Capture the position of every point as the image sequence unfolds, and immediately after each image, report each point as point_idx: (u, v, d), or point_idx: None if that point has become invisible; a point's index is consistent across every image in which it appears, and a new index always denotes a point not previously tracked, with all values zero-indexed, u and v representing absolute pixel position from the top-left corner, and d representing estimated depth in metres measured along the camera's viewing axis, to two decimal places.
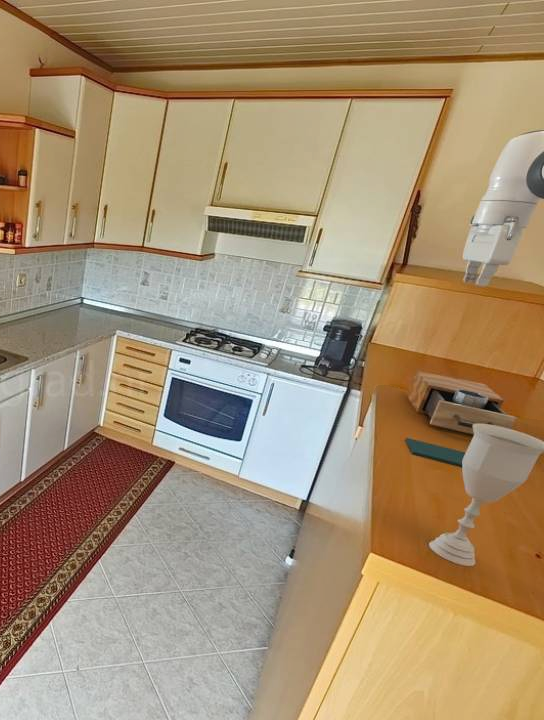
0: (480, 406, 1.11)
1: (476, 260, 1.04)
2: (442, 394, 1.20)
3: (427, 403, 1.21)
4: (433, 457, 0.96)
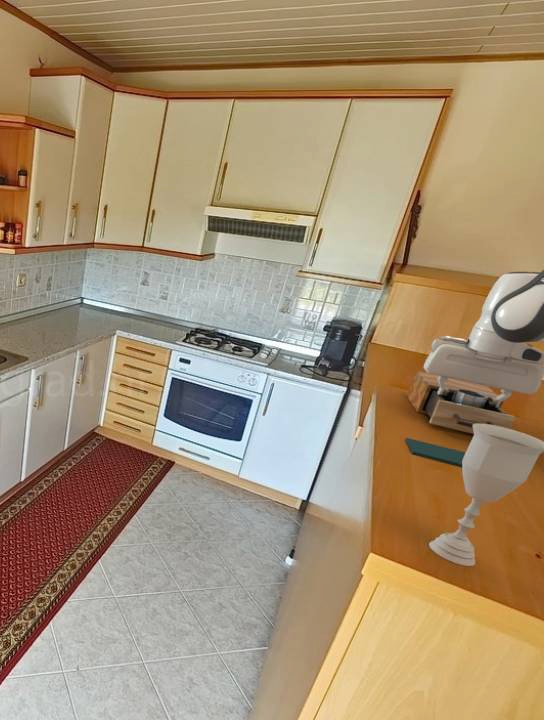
0: (479, 405, 1.11)
1: None
2: None
3: (427, 402, 1.22)
4: (433, 457, 0.96)
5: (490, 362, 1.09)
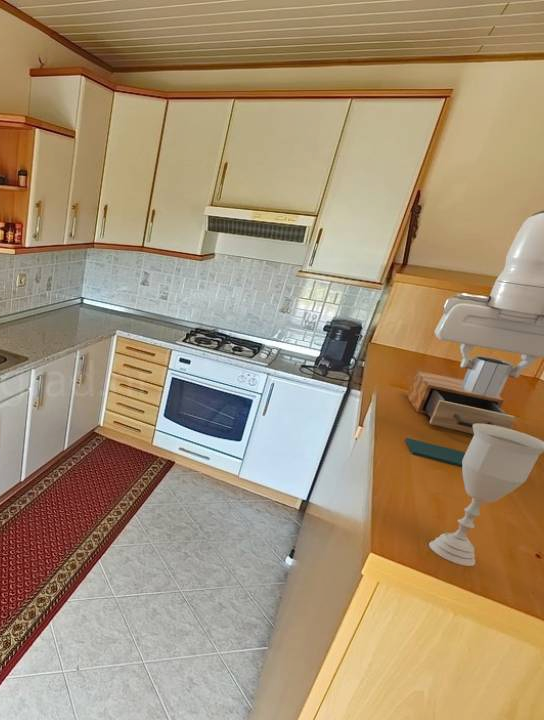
0: (503, 375, 0.91)
1: None
2: (442, 394, 1.21)
3: (427, 403, 1.21)
4: (433, 457, 0.96)
5: (517, 323, 0.89)
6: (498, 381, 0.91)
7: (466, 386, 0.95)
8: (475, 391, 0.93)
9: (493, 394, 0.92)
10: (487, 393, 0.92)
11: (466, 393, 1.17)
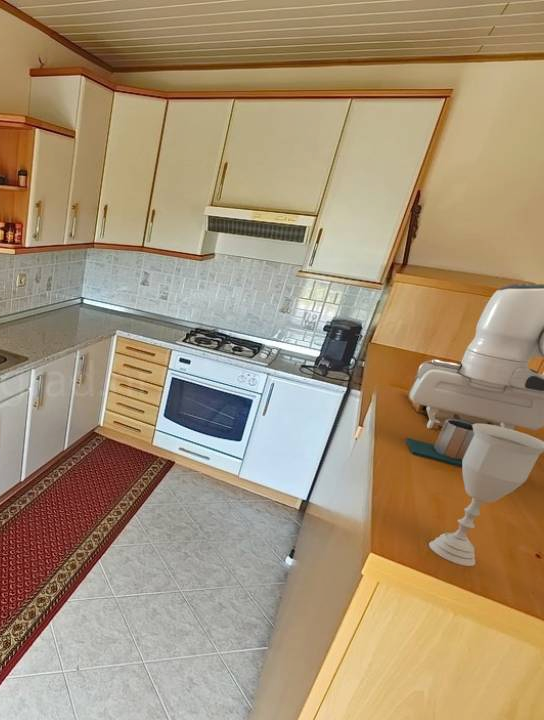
0: None
1: None
2: None
3: None
4: (433, 457, 0.96)
5: (487, 391, 0.91)
6: (468, 446, 0.94)
7: (438, 449, 0.98)
8: (446, 454, 0.96)
9: None
10: (458, 457, 0.95)
11: None
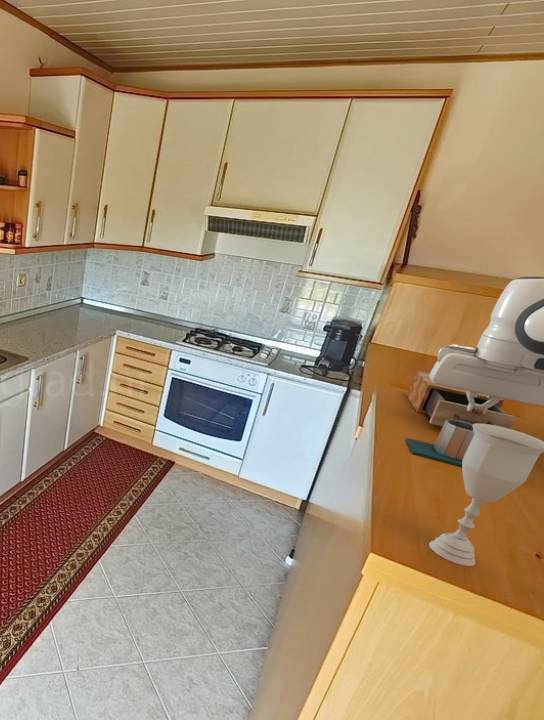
0: None
1: None
2: (442, 394, 1.21)
3: (427, 402, 1.21)
4: (433, 457, 0.96)
5: (500, 372, 1.03)
6: (468, 446, 0.94)
7: (438, 449, 0.98)
8: (446, 454, 0.96)
9: None
10: (458, 457, 0.95)
11: None
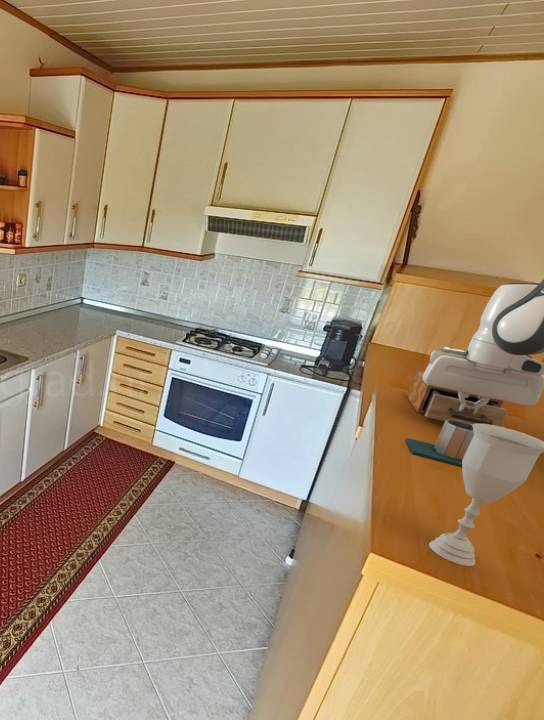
0: None
1: None
2: None
3: None
4: (433, 457, 0.96)
5: (489, 373, 1.08)
6: (468, 446, 0.94)
7: (438, 449, 0.98)
8: (446, 454, 0.96)
9: None
10: (458, 457, 0.95)
11: None
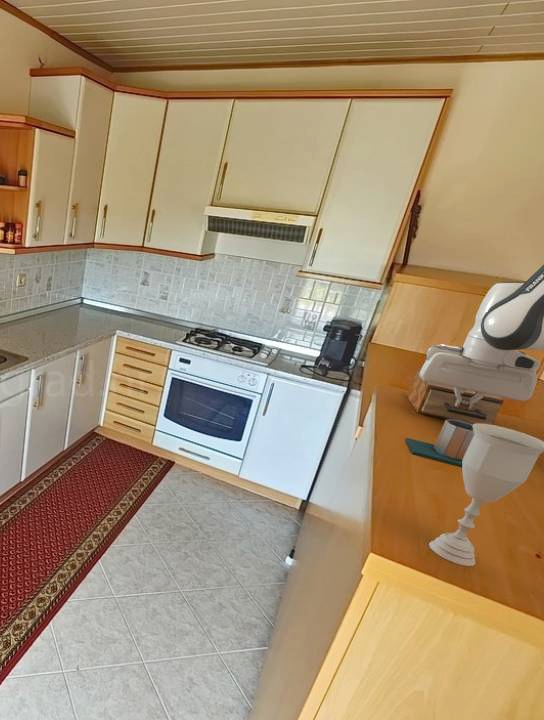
0: None
1: None
2: None
3: None
4: (433, 457, 0.96)
5: (484, 369, 1.11)
6: (468, 446, 0.94)
7: (438, 449, 0.98)
8: (446, 454, 0.96)
9: None
10: (458, 457, 0.95)
11: (466, 393, 1.17)
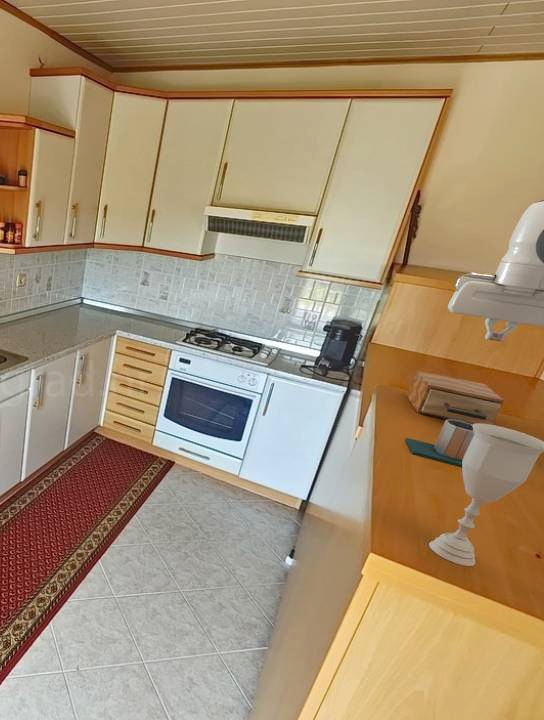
0: None
1: None
2: None
3: None
4: (433, 457, 0.96)
5: (519, 297, 1.05)
6: (468, 446, 0.94)
7: (438, 449, 0.98)
8: (446, 454, 0.96)
9: None
10: (458, 457, 0.95)
11: (466, 393, 1.17)
